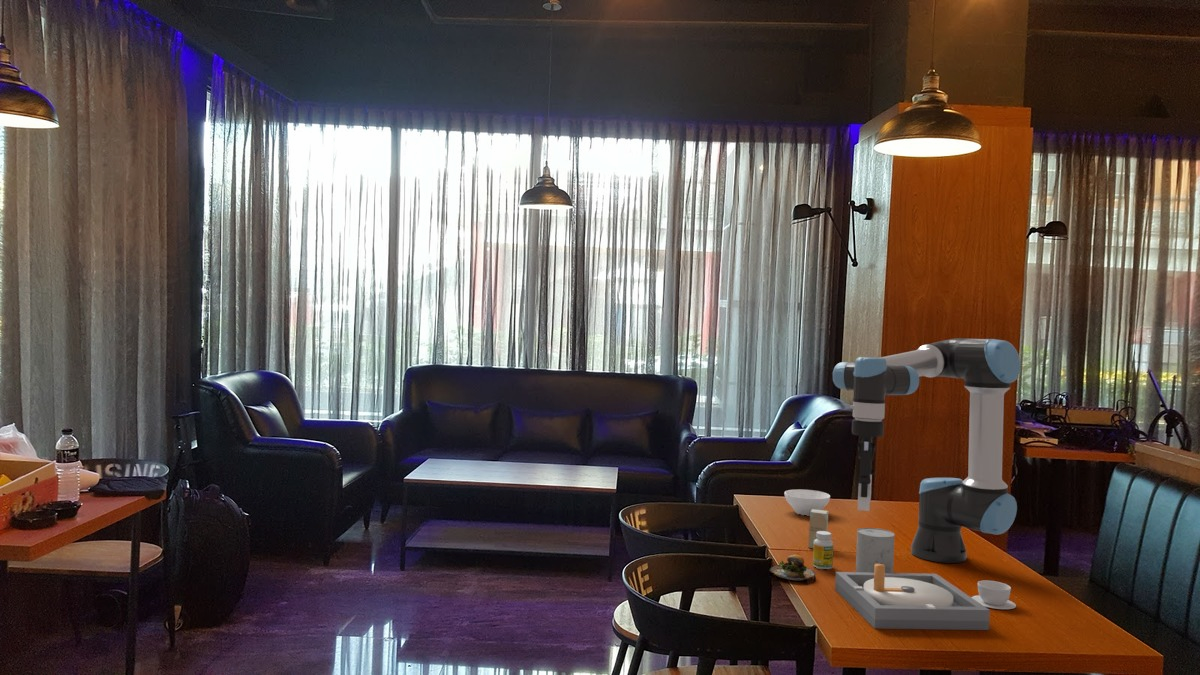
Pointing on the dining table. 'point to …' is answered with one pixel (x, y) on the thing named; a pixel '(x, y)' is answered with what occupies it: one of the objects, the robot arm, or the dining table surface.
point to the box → (817, 524)
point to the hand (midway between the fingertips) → (864, 504)
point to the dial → (905, 591)
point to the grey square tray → (954, 617)
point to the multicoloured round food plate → (793, 569)
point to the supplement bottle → (823, 550)
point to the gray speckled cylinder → (874, 549)
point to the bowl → (806, 500)
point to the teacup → (994, 595)
